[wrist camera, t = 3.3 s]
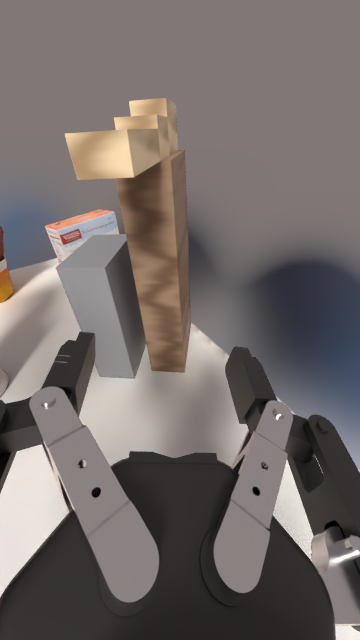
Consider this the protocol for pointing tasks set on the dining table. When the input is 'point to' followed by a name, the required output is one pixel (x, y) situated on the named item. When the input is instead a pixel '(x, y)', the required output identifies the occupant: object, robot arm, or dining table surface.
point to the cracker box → (80, 231)
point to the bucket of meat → (4, 274)
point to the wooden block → (160, 257)
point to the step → (106, 302)
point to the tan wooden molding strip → (127, 142)
